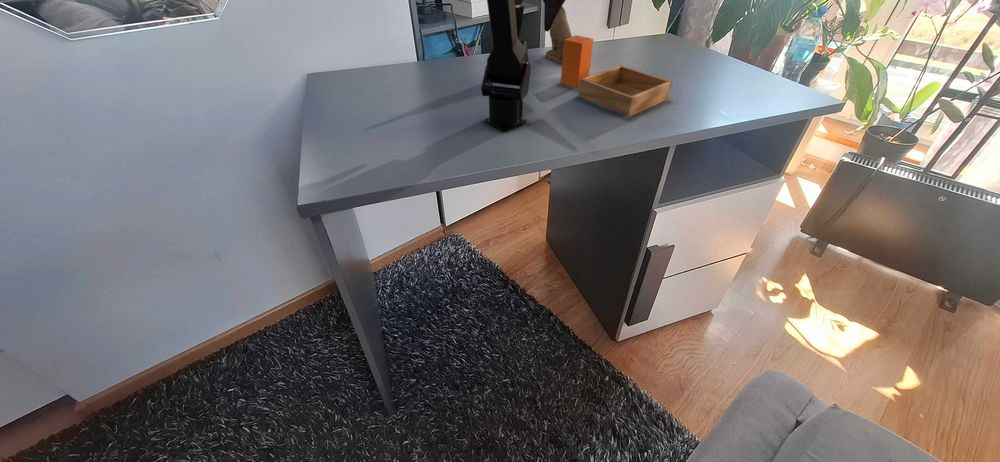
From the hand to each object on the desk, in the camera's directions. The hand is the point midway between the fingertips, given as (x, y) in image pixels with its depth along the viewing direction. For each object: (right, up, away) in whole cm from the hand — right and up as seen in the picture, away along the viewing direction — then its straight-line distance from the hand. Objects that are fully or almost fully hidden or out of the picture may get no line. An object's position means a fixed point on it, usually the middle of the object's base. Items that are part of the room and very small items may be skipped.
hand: (531, 34), depth 94 cm
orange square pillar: (+11, -8, +11) cm, 18 cm away
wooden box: (+21, -14, +3) cm, 26 cm away
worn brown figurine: (+11, +5, +26) cm, 29 cm away
